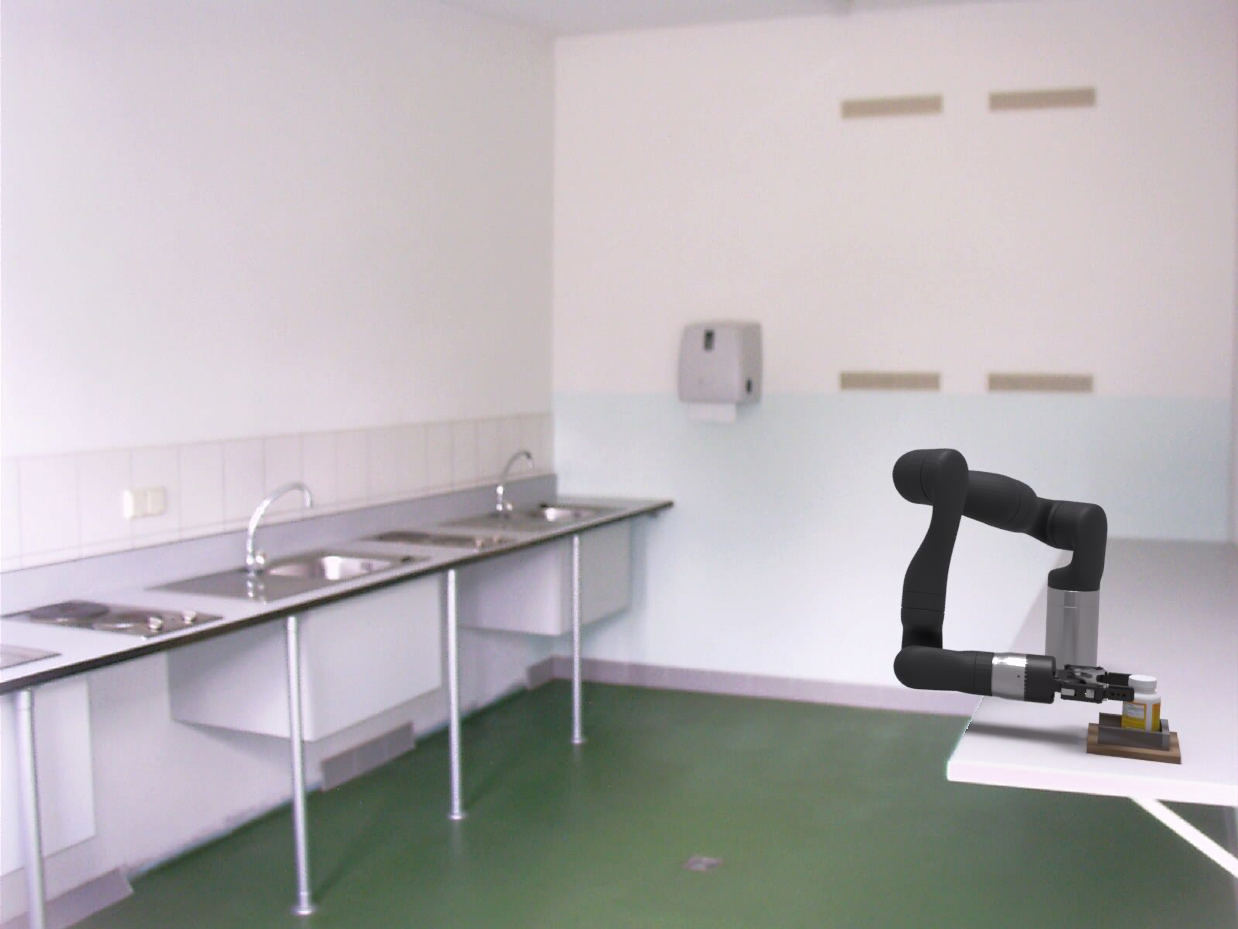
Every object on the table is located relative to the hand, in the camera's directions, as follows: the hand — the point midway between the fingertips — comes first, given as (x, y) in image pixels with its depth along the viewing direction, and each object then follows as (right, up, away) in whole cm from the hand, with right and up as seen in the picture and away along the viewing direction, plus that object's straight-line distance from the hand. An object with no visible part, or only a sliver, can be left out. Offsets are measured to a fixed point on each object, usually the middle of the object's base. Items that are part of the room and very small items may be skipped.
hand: (1134, 688), depth 194 cm
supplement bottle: (+1, -8, 0) cm, 8 cm away
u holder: (0, -9, +1) cm, 9 cm away
